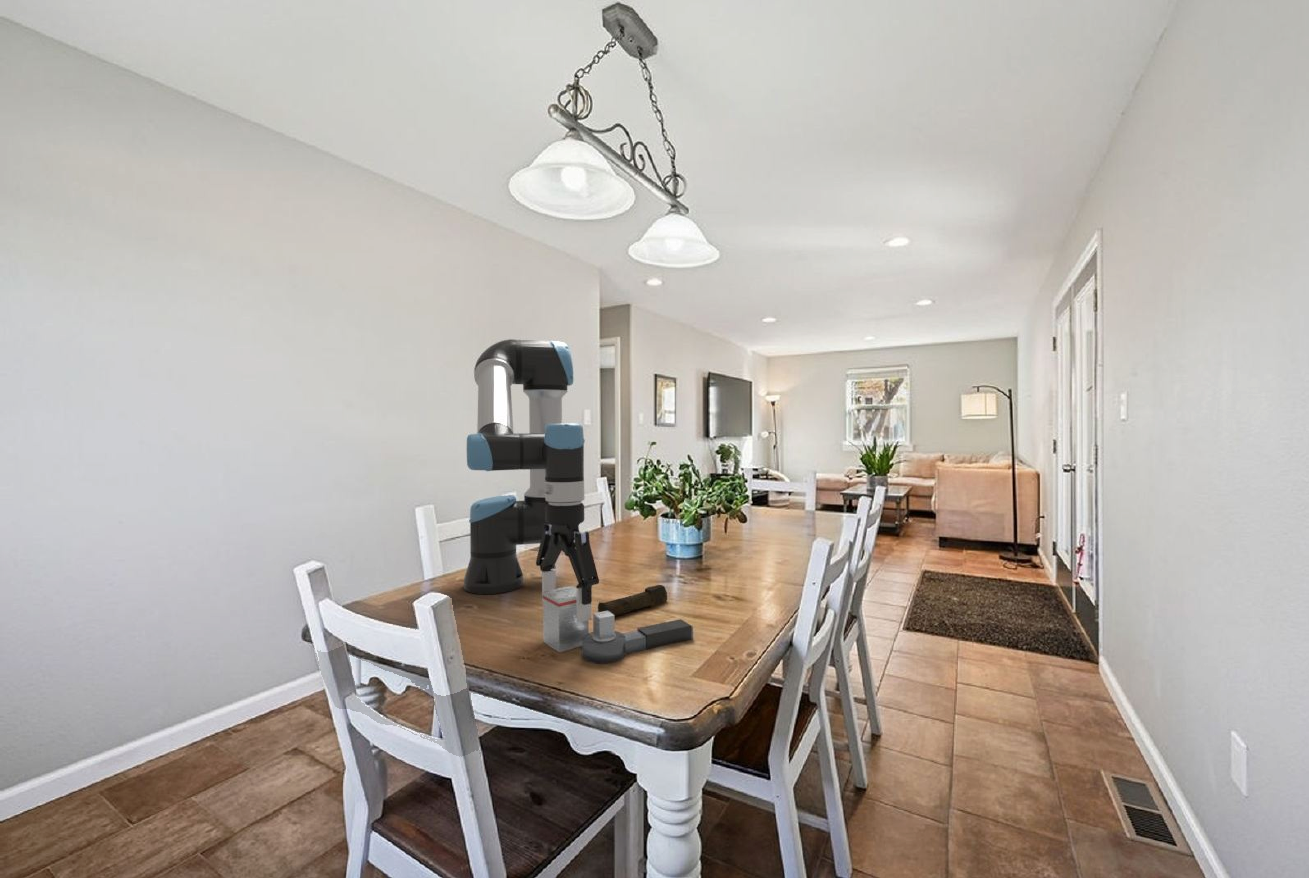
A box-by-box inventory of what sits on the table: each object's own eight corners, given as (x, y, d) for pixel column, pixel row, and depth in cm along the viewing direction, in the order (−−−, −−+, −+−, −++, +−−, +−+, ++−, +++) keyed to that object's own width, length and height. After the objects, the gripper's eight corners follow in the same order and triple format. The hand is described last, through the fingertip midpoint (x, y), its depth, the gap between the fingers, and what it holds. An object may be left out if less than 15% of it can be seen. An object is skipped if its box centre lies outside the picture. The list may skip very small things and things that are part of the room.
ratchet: (592, 666, 98) (591, 625, 98) (576, 650, 105) (575, 611, 105) (698, 642, 109) (699, 604, 109) (677, 628, 116) (677, 593, 116)
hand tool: (606, 623, 120) (606, 601, 120) (596, 617, 123) (596, 597, 123) (674, 605, 131) (674, 586, 131) (663, 601, 135) (663, 582, 134)
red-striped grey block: (543, 641, 109) (542, 591, 109) (571, 633, 113) (571, 585, 113) (559, 652, 104) (558, 600, 104) (588, 643, 108) (588, 593, 108)
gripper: (518, 498, 115) (520, 599, 116) (581, 511, 96) (582, 634, 96) (551, 495, 120) (552, 592, 120) (617, 507, 100) (618, 624, 101)
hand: (565, 611), depth 108 cm, fingers open, 13 cm apart
